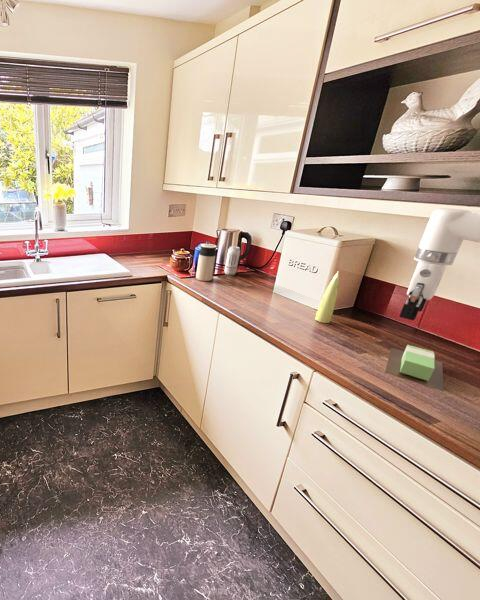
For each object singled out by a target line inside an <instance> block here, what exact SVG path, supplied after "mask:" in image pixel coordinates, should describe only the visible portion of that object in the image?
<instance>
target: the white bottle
mask: <svg viewBox="0 0 480 600" xmlns="http://www.w3.org/2000/svg"><path fill="white" fill-rule="evenodd" d="M240 254H241V249H240V246H235V245H230V246H229V248H228V249H227V254H226V258H225V265H224V274H225V275H227V276H235V275H236V273H237V270H238V266H239V265H238V264H239V260H240V256H241V255H240Z"/></svg>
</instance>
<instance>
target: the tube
mask: <svg viewBox="0 0 480 600" xmlns="http://www.w3.org/2000/svg"><path fill="white" fill-rule="evenodd" d="M339 276H340V275H339V271H337V272H336V273H335V274H334V276H332V279H331V281H330V282H329V284H328V286H327V288H326V289H325V291H324V293H323V296H322V299H321V301H320V303H319V306H318V309H317V311H316V314H315V317H314V320H315V321H317V322H319V323H322V324H329V323H331V320H332V318H333V313H334V311H335V306H336V302H337V297H338V291H339V281H340V280H339V279H340V277H339Z"/></svg>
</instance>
